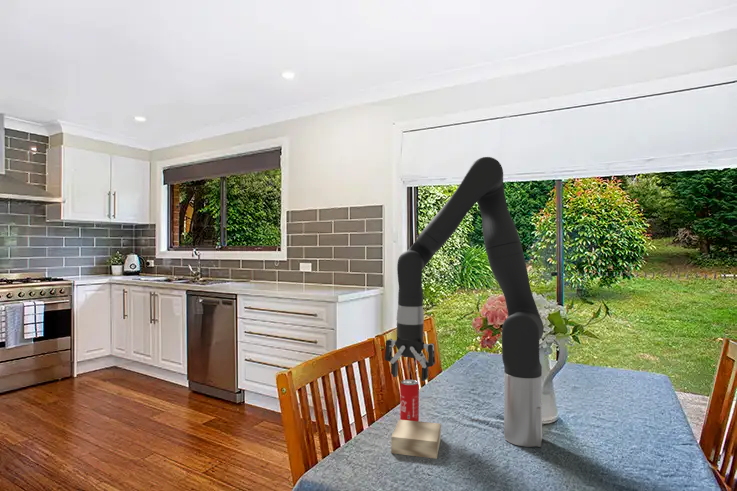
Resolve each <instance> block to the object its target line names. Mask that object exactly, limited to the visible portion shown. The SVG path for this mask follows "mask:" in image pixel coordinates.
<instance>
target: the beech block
mask: <svg viewBox="0 0 737 491" xmlns="http://www.w3.org/2000/svg"><path fill="white" fill-rule="evenodd" d="M441 426H442V424H441V423H438V422H437V423H436V422H427V421H420V420H419V421H409V420H400V419H398V421H397V423H396V425H395V427H394V430H393V432H392V434H391V437H390V445H391V446H390V447H391V448H390V449H391V450H390V454H395V455H403V456H412V457H420V458H428V459H436V460H437V459H438V455H439V451H440V450H439V448H440V446H441V445H440V444H441V436H442V430H441V429H442V428H441Z"/></svg>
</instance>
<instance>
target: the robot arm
mask: <svg viewBox="0 0 737 491" xmlns="http://www.w3.org/2000/svg"><path fill="white" fill-rule="evenodd" d="M506 200H507V199H506V194H505V186H504V170H503V166H502V164H501V163H500V161H499V160H498V159H496V158H494V157H491V156H483V157H480V158H478V159H476V160H475V161H474V162H473V163H472V164H471V165H470V167H469V169H468V170H467V172H466V173H465V175H464V177H463V179H462V180H461V182H460V183H459V185H458V187H457V188H456V189H455V191H454V192H453V194H452V195H451V196H450V198H449V199H448V200H447V201H446V203H445V204H444V205H443V206H442V207H441V209H440V210H439V211H438V212H437V213H436V214H435V216H433V218H432V219H431V220H430V222H429V223H428V224H427V225H426V226H425V227H424V228H423V230H422V231H421V232H420V233H419V235H418V236H417V239H416V240H415V241H414V243H413V244H412V245H411V246H409V248H408V249H407V250H406V251H404V252H402V253H401V254H400V255H399V257H398V259H397V266H396V268H397V269H396V270H397V281H398V294H397V295H398V296H397V300H398V301H397V309H396V310H397V312H396V340H394V339H392V338H388V339H387V340H386V341H385V346H384V348H385V350H384V360H385V362H390V369H391V370H390V373H391V375H392V377H393V378H396V377H398V376H399V374H398V373H399V370H398V369H399V362H398V361H399V359H401V357H403V358H410V359H414V358H415V359H416V361H418V362H419V363H420V365H421V382H425V381H427V379H428V378H429V368H430V367H433V366H434V365H435V364H436V350H435V349H436V348H435V344H434V343H433V342H431V343H425V342H424V326H425V325H424V319H425V318H424V317H425V316H424V315H425V314H424V313H425V312H424V290H423V287H422V286H423V285H422V284H423V283H422V282H423V281H422V280H423V270H424V269H425V267H426V266H427V264H428V263H429V262H430V261H431V259H432V257H434V255H435V254H436V253H437V252H438V251H439V250H440V249H441V248H442V247H444V245H445V243H447V241H448V240H449V239H450V238H451V237H452V235H453V234H454V233H455V232H456V230H457V228H459V226H460V224H461V223H462V221H463V220H464V218H465V217H466V216H467V215H468V213H469V212H470V210H471V209H472V207H474V205H475V204H476V203H477V206H478V208H479V211H480V215H481V216H480V217H481V223H482V224H481V225H482V234H483V235H482V236H483V242H484V247H485V252H486V255H487V260H488V263H489V267H490V269H491V272H492V274H493V276H494V278H495V280H496V282H497V284H498V286H499V287H500V289H501V292H502V294H503V298H504V301H505V304H506V311H507V318H505V320H504V321H503V324H502V327H501V354H502V355H501V356H502V358H501V359H502V362H503V363H502V364H503V368H504V369H503V371H504V372H503V374H504V375H503V377H504V378H503V379H504V380H503V381H504V382H503V386H504V387H503V390H504V391H503V394H504V395H503V438H504V440H506V442H508V443H510V444H512V445H516V446H519V447H525V448H526V447H527V448H528V447H531V448H532V447H539V448H541V447H542V440H543V402H542V400H543V399H542V393H543V392H542V391H543V390H542V388H543V387H542V382H543V381H542V377H543V376H542V374H543V372H542V368H543V367H542V364H541V360H540V340H541V339H542V337H543V335H544V322H543V319H542V317H541V315H540V312H539V309H538V307H537V304H536V300H535V298H534V296H533V292H532V289H531V284H530V279H529V272H528V268H527V265H526V264H527V263H526V258H525V254H524V250H523V247H522V243H521V239H520V235H519V232H518V229H517V227H516V225H515V223H514V220H513V218H512V216H511V214H510V212H509V208H508V205H507V204H508V203H507V201H506ZM393 347H396V349H397V352H396V353H395V354H394V356H393ZM424 349H425V351H426V352H427V356H428V357H427V358H426V356H425V354H424V353H423V351H424ZM418 362H417V363H418Z"/></svg>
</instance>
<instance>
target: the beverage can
mask: <svg viewBox="0 0 737 491" xmlns="http://www.w3.org/2000/svg"><path fill="white" fill-rule="evenodd" d="M399 388H400V397H399V399H400V400H399V401H400V402H399V403H400V405H399V406H400V407H399V410H400V411H399V412H400V414H399V416H400V417H399V418H400V419H399V420H409V421H419V422H420V420H419V419H420V416H419V415H420V413H419V411H420V409H419V408H420V400H419V399H420V384H419V382H418V381H417V380H415V379H403V380H401V381H400V386H399Z"/></svg>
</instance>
